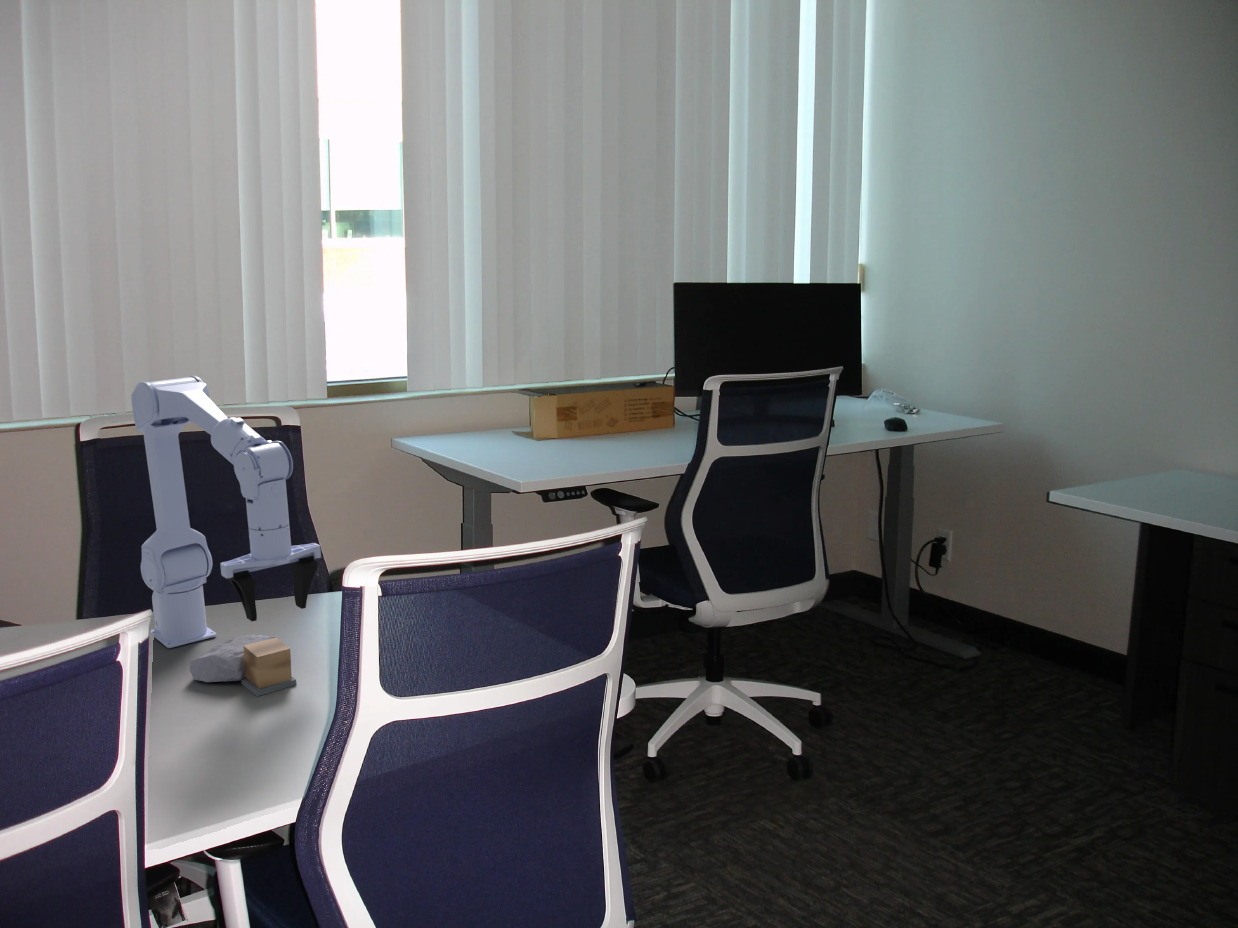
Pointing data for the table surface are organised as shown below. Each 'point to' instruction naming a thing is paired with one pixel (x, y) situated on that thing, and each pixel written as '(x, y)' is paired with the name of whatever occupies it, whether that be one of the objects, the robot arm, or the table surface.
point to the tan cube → (267, 662)
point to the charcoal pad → (268, 689)
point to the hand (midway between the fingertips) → (276, 612)
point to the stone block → (224, 660)
